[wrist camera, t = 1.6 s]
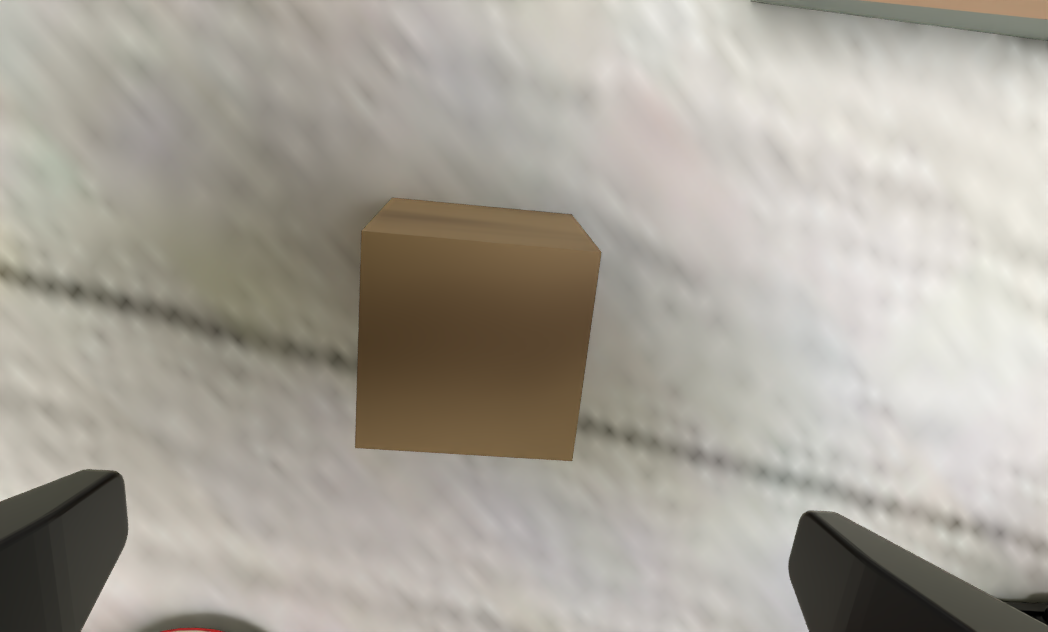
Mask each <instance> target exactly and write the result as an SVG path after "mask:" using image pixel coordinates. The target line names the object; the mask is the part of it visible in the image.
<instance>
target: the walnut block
mask: <svg viewBox="0 0 1048 632" xmlns="http://www.w3.org/2000/svg"><path fill="white" fill-rule="evenodd" d="M600 259H601V251H600V250H599V248H598V247H597V246H596V245H595V243H594V242H593V241H592V240H591V238H590V237H589V236H588V235H587V233H586V232H585V231H584V230H583V228H582V227H581V226H580V224H579V223H578V222H577V221H576V219H575V218H574V217H573V216H572V214H561V213H550V212H540V211H529V210H518V209H508V208H497V207H486V206H476V205H465V204H454V203H444V202H433V201H422V200H412V199H401V198H391V199H390V201H389V202H388V203H387V204H386V205H385V206H384V207H383V208H382V209H381V210H380V211H379V212H378V214H377V215H376V216H375V217H374V218H373V219H372V220H371V221H370V222H369V223H368V224H367V225H366V227H365V228H364V229H363V230H362V231H361V265H360V299H359V333H358V367H357V401H356V435H355V448H365V449H382V450H398V451H415V452H431V453H448V454H464V455H481V456H497V457H514V458H530V459H547V460H563V461H572V458H573V451H574V444H575V437H576V430H577V423H578V416H579V409H580V401H581V394H582V387H583V380H584V373H585V366H586V359H587V351H588V344H589V337H590V330H591V323H592V316H593V309H594V302H595V294H596V287H597V280H598V273H599V266H600Z"/></svg>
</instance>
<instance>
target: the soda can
mask: <svg viewBox="0 0 1048 632" xmlns="http://www.w3.org/2000/svg"><path fill="white" fill-rule="evenodd" d="M161 632H224V631H219V630H215V629H205V628H178V629H171V630H165V631H161Z"/></svg>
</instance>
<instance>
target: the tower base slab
mask: <svg viewBox="0 0 1048 632" xmlns="http://www.w3.org/2000/svg"><path fill="white" fill-rule="evenodd" d="M751 1H752V2H759V3H767V4H774V5H782V6H790V7H797V8H805V9H812V10H820V11H827V12H835V13H842V14H850V15H857V16H865V17H872V18H880V19H887V20H895V21H903V22H910V23H918V24H925V25H933V26H940V27H948V28H955V29H963V30H970V31H978V32H985V33H993V34H1000V35H1008V36H1016V37H1023V38H1031V39H1038V40H1046V41H1048V20H1047V19H1037V18H1027V17H1018V16H1008V15H998V14H988V13H978V12H969V11H959V10H949V9H939V8H930V7H920V6H910V5H900V4H891V3H881V2H871V1H861V0H751Z"/></svg>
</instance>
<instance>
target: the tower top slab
mask: <svg viewBox="0 0 1048 632" xmlns="http://www.w3.org/2000/svg"><path fill="white" fill-rule="evenodd" d="M861 1H871V2H881V3H891V4H900V5H910V6H920V7H930V8H939V9H949V10H959V11H969V12H978V13H988V14H998V15H1008V16H1018V17H1027V18H1037V19H1047V20H1048V0H861Z"/></svg>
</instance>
